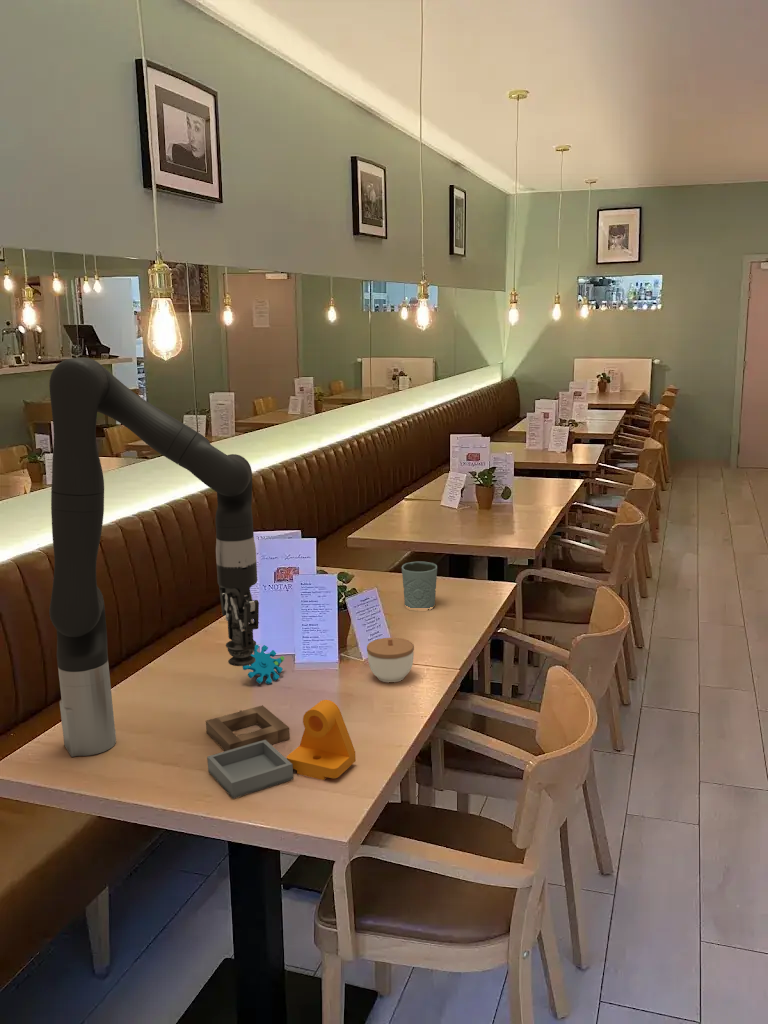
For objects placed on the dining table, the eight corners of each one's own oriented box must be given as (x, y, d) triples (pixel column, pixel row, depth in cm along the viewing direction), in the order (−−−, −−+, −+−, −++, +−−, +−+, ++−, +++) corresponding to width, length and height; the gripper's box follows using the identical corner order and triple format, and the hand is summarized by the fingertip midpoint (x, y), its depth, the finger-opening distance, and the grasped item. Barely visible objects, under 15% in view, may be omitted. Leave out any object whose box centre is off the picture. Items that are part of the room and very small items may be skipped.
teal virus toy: (252, 684, 198) (237, 645, 203) (241, 696, 202) (227, 658, 206) (293, 677, 205) (278, 639, 210) (282, 689, 209) (268, 652, 213)
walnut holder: (230, 756, 169) (229, 744, 168) (206, 732, 179) (205, 720, 179) (289, 739, 175) (289, 727, 175) (263, 716, 186) (262, 705, 185)
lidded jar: (361, 684, 201) (359, 644, 199) (376, 666, 211) (375, 628, 209) (406, 689, 197) (405, 649, 195) (420, 671, 207) (419, 632, 205)
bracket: (285, 771, 163) (281, 710, 160) (306, 753, 169) (303, 695, 167) (336, 783, 158) (333, 721, 156) (355, 765, 164) (353, 704, 162)
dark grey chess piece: (261, 656, 176) (258, 598, 173) (249, 668, 170) (246, 608, 168) (234, 654, 177) (231, 596, 175) (221, 665, 172) (218, 606, 169)
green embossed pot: (421, 599, 260) (420, 559, 257) (445, 606, 252) (444, 566, 250) (395, 606, 254) (394, 566, 251) (418, 615, 246) (417, 573, 243)
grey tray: (232, 798, 154) (231, 783, 153) (208, 771, 164) (207, 756, 163) (293, 779, 160) (292, 764, 159) (266, 754, 169) (265, 739, 169)
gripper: (204, 555, 174) (209, 637, 177) (232, 571, 162) (237, 659, 165) (239, 549, 177) (244, 629, 181) (270, 565, 165) (274, 650, 169)
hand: (241, 643), depth 173 cm, fingers closed on dark grey chess piece, 6 cm apart
